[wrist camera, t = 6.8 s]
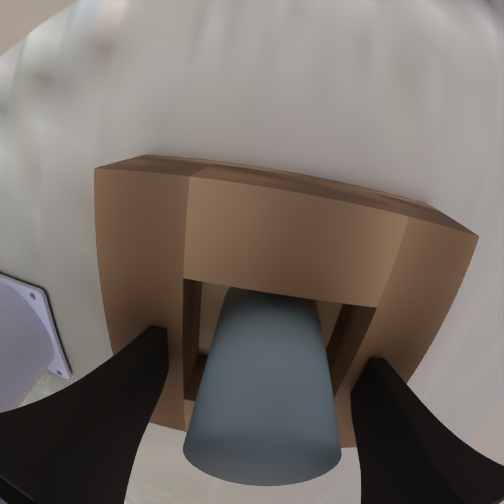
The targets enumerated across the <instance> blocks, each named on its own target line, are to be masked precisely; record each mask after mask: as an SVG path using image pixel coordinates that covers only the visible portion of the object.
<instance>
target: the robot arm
mask: <svg viewBox="0 0 504 504" xmlns="http://www.w3.org/2000/svg"><path fill="white" fill-rule="evenodd" d="M45 370H48V371H50V372H52V373H54V374H56V375H58V376H61V377H63V378H65V379H70V377H71V372H70V370H69V367H68V364H67V362H66V359H65V356H64V354H63V351H62V348H61V345H60V342H59V339H58V336H57V333H56V329H55V326H54V323H53V319H52V316H51V312H50V309H49V305H48V301H47V297H46V294H45V293H44V291H43V290H42V289H40V288H37V287H34V286H31V285H29V284H26V283H23V282H20V281H18V280H15V279H12V278H10V277H7V276H5V275H2V274H0V504H124V500H125V495H126V490H127V486H128V482H129V478H130V474H131V470H132V466H133V463H134V460H135V456H136V453H137V449H138V446H139V444H140V441H141V439H142V436H143V434H144V432H145V429H146V427H147V425H148V423H149V420H150V418H151V416H152V414H153V412H154V409H155V407H156V405H157V402H158V400H159V398H160V396H161V393H162V391H163V388H164V384H165V381H166V378H167V374H168V371H169V356H168V337H167V329H166V328H161V327H157V326H153V325H150V326H149V327H147V328H146V329H145V330H144V331H143V332H141V333H140V334H139V335H138V336H137V337H136V338H134V339H133V340H132V341H131V342H130V343H128V344H127V345H126V346H125V347H124V348H122V349H121V350H120V351H119V352H117V353H116V354H115V355H114V356H112V357H111V358H110V359H108V360H107V361H106V362H104V363H103V364H102V365H100V366H99V367H97V368H96V369H95V370H93V371H92V372H90V373H89V374H87V375H86V376H84V377H83V378H81V379H80V380H78V381H76V382H75V383H73V384H71V385H69V386H68V387H66V388H64V389H62V390H60V391H58V392H56V393H54V394H52V395H50V396H48V397H45V398H43V399H41V400H39V401H36V402H34V403H31V404H28V405H25V406H22V407H19V406H20V405H21V403H22V402H23V401H24V399H25V398H26V396H27V395H28V393H29V392H30V391H31V389H32V388H33V386H34V385H35V384H36V382H37V381H38V380H39V378H40V377H41V375H42V374H43V373H44V371H45ZM350 401H351V417H352V423H353V428H354V434H355V439H356V445H357V450H358V456H359V462H360V470H361V504H499V503H500V502H502V501H503V500H504V466H503V465H500V464H498V463H496V462H494V461H492V460H491V459H489V458H487V457H485V456H484V455H482V454H480V453H479V452H477V451H476V450H474V449H473V448H471V447H470V446H469V445H467V444H466V443H464V442H463V441H462V440H461V439H459V438H458V437H457V436H456V435H454V434H453V433H452V432H451V431H450V430H449V429H448V428H447V427H445V426H444V425H443V424H442V423H441V422H440V421H439V420H438V419H437V418H436V417H435V416H434V415H433V414H432V413H431V412H430V411H429V410H428V408H427V407H426V406H425V405H424V404H423V403H422V402H421V401H420V400H419V398H418V397H417V396H416V395H415V394H414V393H413V391H412V390H411V389H410V388H409V387H408V385H407V384H406V383H405V382H404V381H403V379H402V378H401V377H400V376H399V375H398V373H397V372H396V371H395V370H394V369H393V367H392V366H391V365H390V364H389V363H388V362H387V361H386V360H385V359H384V358H373V357H370V358H369V360H368V362H367V363H366V365H365V367H364V369H363V371H362V373H361V375H360V376H359V378H358V380H357V382H356V384H355V385H354V387H353V389H352V391H351V392H350Z"/></svg>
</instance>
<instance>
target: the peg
mask: <svg viewBox="0 0 504 504" xmlns="http://www.w3.org/2000/svg"><path fill="white" fill-rule="evenodd" d="M183 452H184V455H185V457H186V458H187V460H188V461H189V462H190V463H191V464H192V465H194V466H195V467H196V468H198V469H199V470H201V471H203V472H205V473H207V474H209V475H211V476H214V477H216V478H219V479H222V480H226V481H230V482H234V483H239V484H246V485H255V486H279V485H289V484H295V483H300V482H304V481H308V480H311V479H314V478H316V477H319V476H321V475H323V474H325V473H327V472H328V471H330V470H331V469H333V468H334V467H335V466H336V465H337V464H338V463H339V461H340V459H341V447H340V439H339V431H338V424H337V417H336V410H335V404H334V397H333V391H332V384H331V378H330V372H329V367H328V361H327V355H326V350H325V344H324V339H323V334H322V328H321V323H320V318H319V313H318V308H317V303H316V300H314V299H307V298H300V297H293V296H287V295H280V294H273V293H267V292H261V291H254V290H248V289H242V288H236V287H230V288H229V290H228V291H227V293H226V296H225V298H224V302H223V305H222V309H221V312H220V316H219V319H218V323H217V326H216V330H215V333H214V337H213V340H212V344H211V347H210V351H209V355H208V358H207V362H206V365H205V369H204V372H203V376H202V380H201V383H200V387H199V390H198V394H197V398H196V401H195V405H194V409H193V412H192V416H191V420H190V423H189V427H188V431H187V434H186V438H185V442H184V446H183Z"/></svg>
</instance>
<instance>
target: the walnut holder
mask: <svg viewBox="0 0 504 504" xmlns="http://www.w3.org/2000/svg"><path fill="white" fill-rule="evenodd" d="M94 199H95V227H96V243H97V255H98V265H99V274H100V282H101V290H102V297H103V304H104V310H105V316H106V322H107V327H108V332H109V337H110V342H111V347H112V351H113V356H114V355H115V354H116V353H117V352H119V351H120V350H121V349H122V348H124V347H125V346H126V345H127V344H128V343H130V342H131V341H132V340H133V339H134V338H136V337H137V336H138V335H139V334H140V333H141V332H143V331H144V330H145V329H146V328H147V327H149V326H150V325H153V326H157V327H161V328H166V329H167V337H168V356H169V371H168V374H167V378H166V381H165V384H164V388H163V391H162V393H161V396H160V398H159V400H158V402H157V405H156V407H155V409H154V412H153V414H152V416H151V418H150V420H149V422H151V423H154V424H158V425H161V426H165V427H169V428H173V429H177V430H181V431H185V432H187V431H188V427H189V423H190V420H191V416H192V412H193V409H194V405H195V401H196V398H197V394H198V390H199V387H200V383H201V380H202V376H203V372H204V369H205V365H206V362H207V358H208V355H209V351H210V347H211V344H212V340H213V337H214V333H215V330H216V326H217V323H218V319H219V316H220V312H221V309H222V305H223V302H224V298H225V296H226V293H227V291H228V290H229V288H230V287H236V288H242V289H248V290H254V291H261V292H267V293H273V294H280V295H287V296H293V297H300V298H307V299H314V300H316V303H317V308H318V313H319V318H320V323H321V328H322V334H323V339H324V344H325V350H326V355H327V361H328V367H329V372H330V378H331V384H332V391H333V397H334V404H335V410H336V417H337V424H338V431H339V439H340V447H341V448H346V447H357V445H356V439H355V434H354V428H353V423H352V417H351V401H350V392H351V391H352V389H353V387H354V385H355V384H356V382H357V380H358V378H359V376H360V375H361V373H362V371H363V369H364V367H365V365H366V363H367V362H368V360H369V358H370V357H373V358H384V359H385V360H386V361H387V362H388V363H389V364H390V365H391V366H392V367H393V369H394V370H395V371H396V372H397V373H398V375H399V376H400V377H401V378H402V379H403V381H404V382H405V383H406V384H407V382H408V381H409V379H410V378H411V376H412V375H413V373H414V371H415V370H416V368H417V367H418V365H419V364H420V362H421V360H422V359H423V357H424V355H425V354H426V352H427V350H428V349H429V347H430V345H431V343H432V342H433V340H434V338H435V336H436V334H437V333H438V331H439V329H440V327H441V325H442V323H443V321H444V319H445V317H446V315H447V313H448V311H449V309H450V307H451V305H452V303H453V301H454V299H455V296H456V294H457V292H458V290H459V288H460V285H461V283H462V281H463V278H464V276H465V273H466V271H467V268H468V266H469V263H470V261H471V258H472V255H473V253H474V250H475V247H476V244H477V241H478V239H479V236H478V235H476V234H475V233H473V232H472V231H470V230H469V229H467V228H466V227H464V226H463V225H461V224H460V223H458V222H456V221H455V220H453V219H452V218H450V217H448V216H447V215H445V214H443V213H442V212H440V211H438V210H437V209H435V208H433V207H432V206H430V205H427V204H424V203H420V202H417V201H413V200H410V199H406V198H403V197H399V196H395V195H391V194H388V193H384V192H380V191H376V190H372V189H367V188H363V187H359V186H355V185H350V184H346V183H341V182H337V181H332V180H327V179H322V178H317V177H312V176H307V175H302V174H296V173H291V172H285V171H279V170H273V169H267V168H261V167H254V166H247V165H240V164H233V163H225V162H218V161H209V160H200V159H191V158H180V157H169V156H157V155H143V156H139V157H135V158H131V159H127V160H123V161H119V162H116V163H112V164H108V165H105V166H101V167H98V168H95V172H94Z"/></svg>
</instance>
